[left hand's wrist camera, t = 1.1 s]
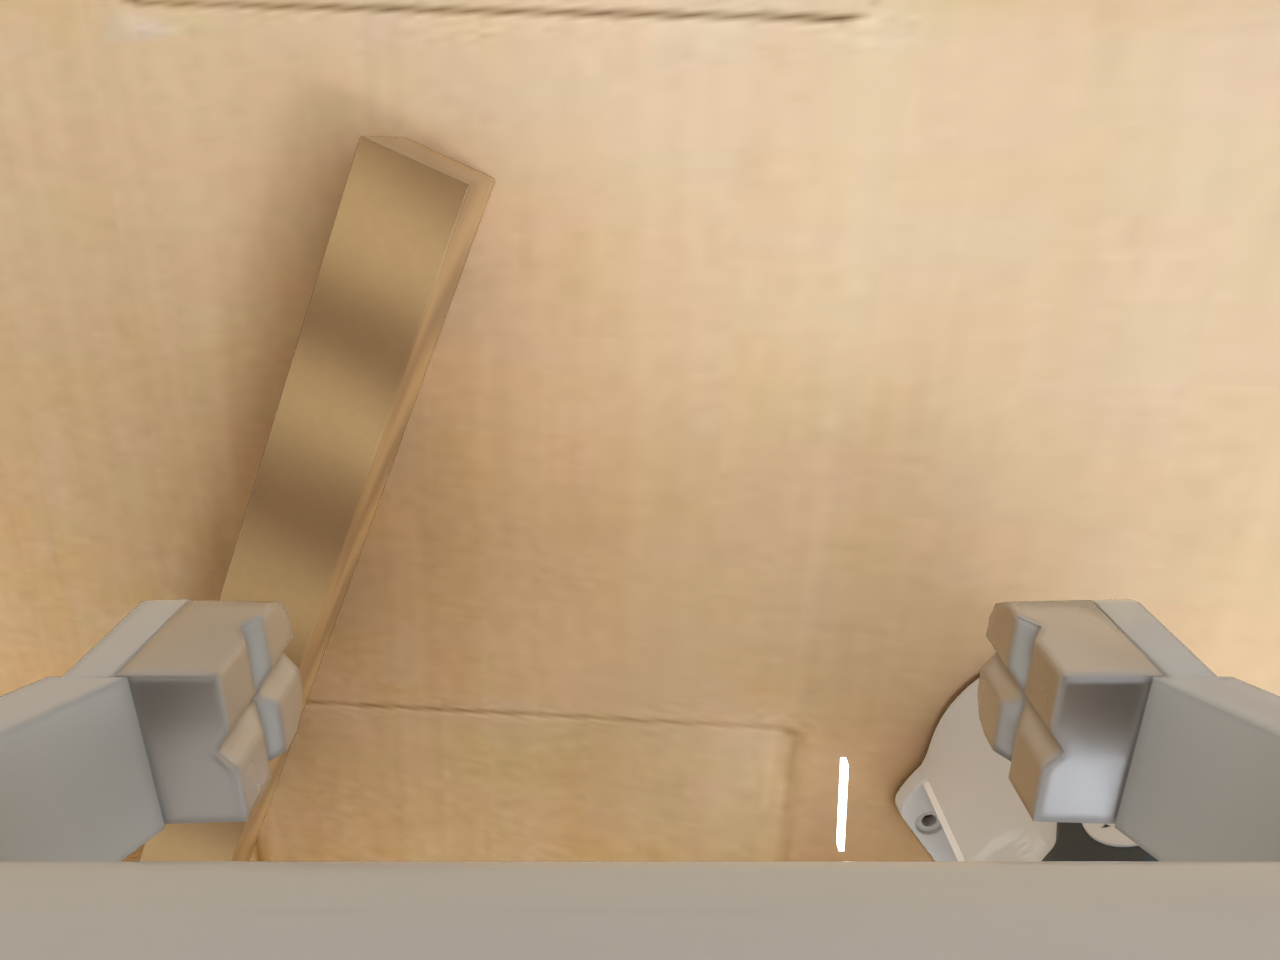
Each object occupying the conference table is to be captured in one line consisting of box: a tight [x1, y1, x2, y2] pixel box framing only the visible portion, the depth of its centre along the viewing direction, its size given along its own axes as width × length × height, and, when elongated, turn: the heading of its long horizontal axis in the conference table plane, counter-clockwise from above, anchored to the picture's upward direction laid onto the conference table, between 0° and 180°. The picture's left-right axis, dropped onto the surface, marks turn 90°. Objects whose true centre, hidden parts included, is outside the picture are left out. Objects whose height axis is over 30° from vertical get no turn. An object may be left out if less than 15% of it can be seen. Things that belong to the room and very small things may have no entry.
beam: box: [140, 136, 495, 861], centre depth 45 cm, size 50×4×6 cm, turn 156°
